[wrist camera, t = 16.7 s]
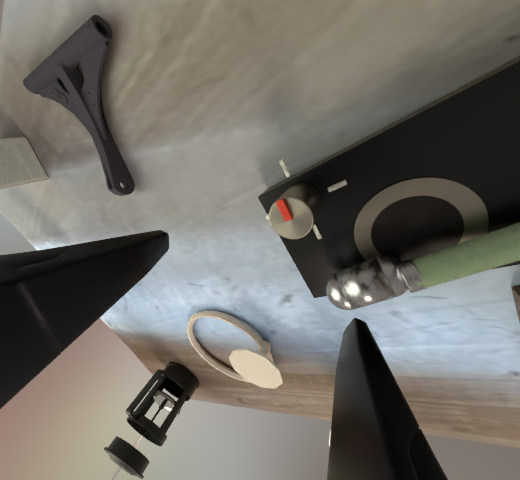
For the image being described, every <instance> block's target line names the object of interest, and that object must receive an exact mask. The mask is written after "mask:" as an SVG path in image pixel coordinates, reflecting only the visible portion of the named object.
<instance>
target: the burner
mask: <svg viewBox="0 0 520 480" xmlns="http://www.w3.org/2000/svg"><path fill="white" fill-rule="evenodd" d="M488 223H489V219H488V212H487V209H486V207H485V205H484V203H483V201H482V200H481V198H480V197H479V196H478V195H477V194H476V193H475V192H473V191H472V190H471V189H470V188H468V187H466V186H464V185H463V184H461V183H458V182H455V181H453V180H449V179H444V178H437V177H421V178H413V179H408V180H404V181H401V182H398V183H395V184H393V185H391V186H388V187H387V188H385V189H383V190H381V191H380V192H378V193H377V194H376V195H374V196H373V197H372V198H371V199H370V200H369V201H368V202H367V203H366V204H365V205H364V207H363V208H362V210H361V211H360V213H359V215H358V217H357V219H356V223H355V228H354V238H355V243H356V245H357V248H358V250H359V252H360V253H361V255H362V256H363V257H364V258H365V259H366V260H370V259H372V258H375V257H378V256H383V255H389V256H394V257H396V258H399V259H400V260H402V261H404V260H407V259H411V260H414V259H416V258H419V257H422V256H425V255H428V254H431V253H433V252H436V251H439V250H442V249H445V248H448V247H450V246H453V245H456V244H459V243H462V242H465V241H467V240H470V239H473V238H476V237H479V236H482V235H484V234H487V230H488Z"/></svg>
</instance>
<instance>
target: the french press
mask: <svg viewBox="0 0 520 480" xmlns="http://www.w3.org/2000/svg"><path fill="white" fill-rule="evenodd" d="M157 379H158V382H157V383H156V384H155V386H154V387H153V388H152V390H151V391H149V390H150V388H151V387H152V386H153V384H154V383H155V382H156V380H157ZM198 386H199V382H198V380H197V378H196V377H195V376H194V375H193V374H192V373H191V372H190V371H189V370H188V369H186V368H185V367H183V366H182V365H180V364H177V363H174V362H169V363H168V364H167V366H166V368H165V369H164V371H163V370H157V371H156V373H155V374H154V375H153V377H152V378H151V379H150V380H149V382H148V383H147V384H146V385H145V387H144V388H143V389H142V391H141V392H140V393H139V394H138V396H137V397H136V398H135V399H134V401H133V402H132V403H131V404H130V406H129V407H128V408H127V410H126V413H127V414H128V416H129V417H128V418H127V422H128V423H129V424H130V425H131V426H132V427H133V428H134V429H135V430H136V431H137V432H138V433H139V434H141V436H140V438H139V439H138V441H137V442H136V444H135V445H134V447H133V446H131V445H130V444H129V443H127V442H126V441H124V440H123V439H121V438H119V437H116V438H115V439H114V440H113V442H112V443H111V444H110V446H109V447H108V448H107V447H105V448H104V450H105V451H106V452H107V453H108V454H109V456H110V458H111V459H112V460H113V461H114V462H115V463H116V464H117V465H119V466H120V467H119V469H118V470H117V472H116V473H115V475H114V476H113V478H112V479H111V480H113V479H114V478H115V477H116V475H117V474H118V472H119V471H120V469H121V468H122V469H124V470H125V471H127V472H128V473H129V474H131V475H135V476H138V477H139V478H141V479H143V477H144V476H143V475H142V474H143V472H144V470H145V469H146V467H147V465H148V464H149V460H148V459H147V458H146V457H145V456H144V455H143V454H142V453H140V452H139V451H138V450H137V449H135V447H136V445H137V444H138V442H139V441H140V440H141V438H142V437H145V438H146V439H148V440H149V441H151V442H152V443H154V444H156V445H158V446H162V445H163V443H164V442H165V440H166V438H167V436H166V434H165V433H166V432H167V430H168V428H169V427H170V425H171V423H172V422H173V420H174V418H175V417H176V415H178V414H180V411H181V407H182V405H183V404H184V402H185V401H188V400H189V399H190V398H191V396H192V394H193V393H194V391H195V389H197V388H198ZM164 388H165V389H166V390H167V391H168V392H169V393H171V394H172V395H173V396H175V397H177V398H179V399H178V401H177V402H176V401H175V400H174V399H173V398H171V397H170V396H169V395H167V394H166V393H164V392H163V391H162V390H163V389H164ZM148 391H149V394H148V395H147V396H146V398H145V399H144V400H143V402H142V403H141V404H140V405H139V407H138V408H137V409H136V411H135V412H134V409H135V408H136V407H137V405H138V404H139V403H140V401H141V400H142V399H143V397H144V396H145V395H146V394H147V392H148ZM154 401H155V402H156V403H157V404H158V405H160V406H159V410H158V411H157V413H156V414H155V416H154V417H153V419H152V420H149V419H148V418H146V417H145V416H144V415H145V414H146V413H147V411H148V410H149V408H150V407H151V405H152V404H153V403H154ZM163 408H164V409H165V410H167V411H168V412H170V413H169V415H168V416H167V418H166V419H165V421H164V422H163V424H162V426H161V427H160V428H159V427H158V426H157V425H156V424H155V423H153V420H154V419H155V417H156V415H157V414H158V413H159V411H160V410H162V409H163Z"/></svg>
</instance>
